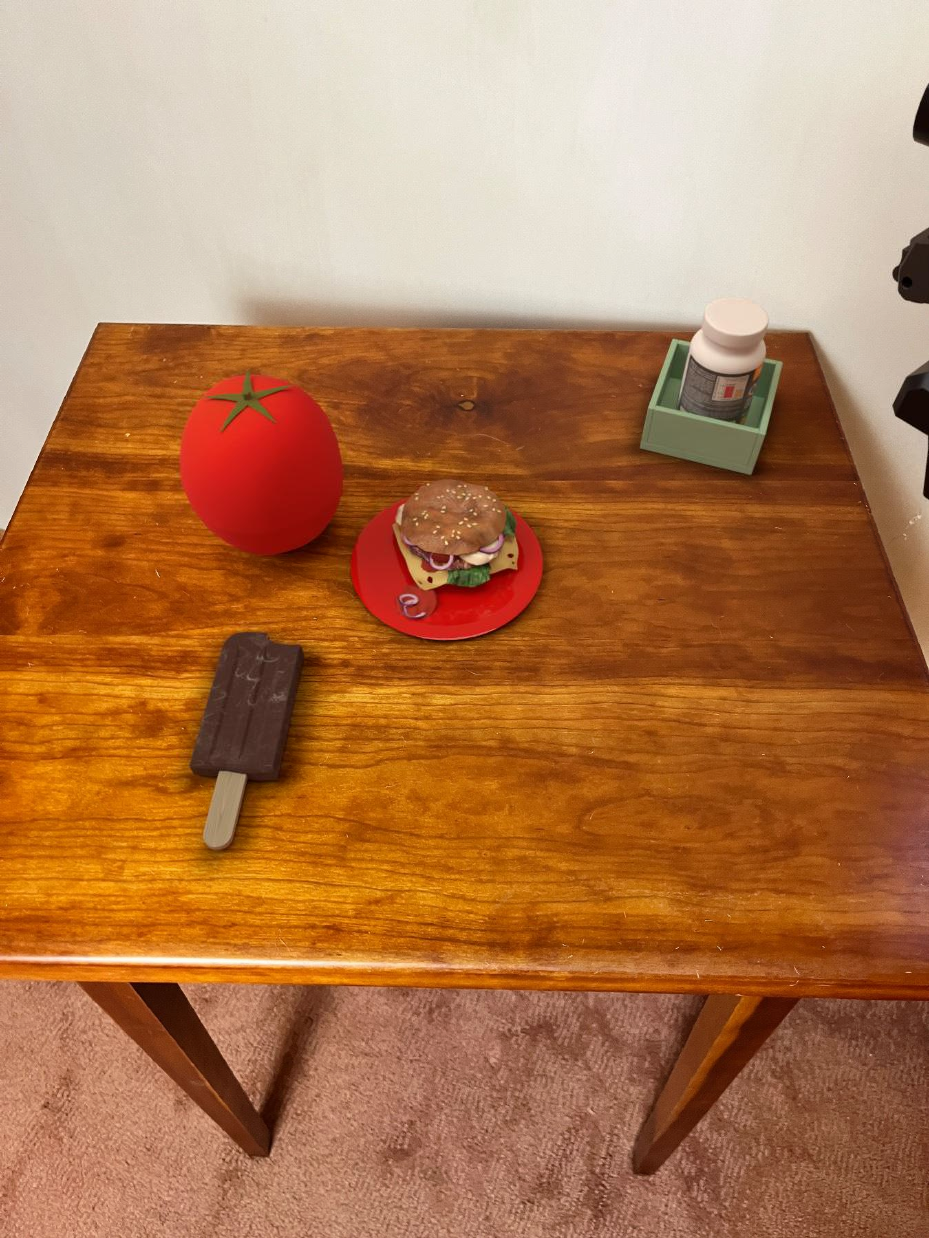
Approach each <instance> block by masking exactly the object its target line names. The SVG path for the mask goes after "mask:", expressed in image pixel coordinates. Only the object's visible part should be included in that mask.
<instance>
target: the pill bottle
mask: <svg viewBox="0 0 929 1238" xmlns="http://www.w3.org/2000/svg"><path fill="white" fill-rule="evenodd" d="M701 319H702V320H701V323H700V326H701V328H700V329H699V330H698V331H697V332H696V333H695V334H694V335H693V337H692V339H691V340H690V342H691V343H690V347H689V351H688V355H687V360H686V364H685V369H684V373H683V378H682V382H681V386H680V390H679V394H678V399H677V404H676V410H678V411H682V412H687V413H691V414H695V415H700V416H704V417H709V418H713V419H717V420H722V421H726V422H730V423H735V424H739V425H744V424H745V421H746V418H747V415H748V412H749V409H750V405H751V402H752V399H753V396H754V392H755V389H756V386H757V383H758V379H759V376H760V373H761V370H762V366H763V363H764V360H765V358H766V356H767V346H766V343H765V341H764V339H765V337H766V333H767V330H768V327H769V322H770V319H769V315H768V312H767V311H766V310H765V309H764V307H762V306H761V305H760V304H758V303H757V302H755V301H753V300H750V299H747V298H744V297H736V296H727V297H722V298H718V299H715V300H713V301H711V302H710V303H709V304H707V306H706V308H705V309H704V312H703V316H702V318H701Z"/></svg>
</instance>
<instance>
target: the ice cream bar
mask: <svg viewBox="0 0 929 1238" xmlns="http://www.w3.org/2000/svg"><path fill="white" fill-rule="evenodd" d="M304 659H305V653H304V650H303V646H302V645H301V644H287V643H278V642H277V643H276V642H273V641H272V640H271V639H270V636H269V634H268V633H267V632H258V631H242V632H241V631H240V632H236V633H233V634H231V635H230V636H229V637H228V638H227V639H226V640H225V641H224V642H223V644H222V648H221V651H220V655H219V658H218V662H217V666H216V670H215V673H214V676H213V680H212V682H211V683H212V684H211V687H210V690H209V694H208V697H207V701H206V705H205V709H204V713H203V715H202V719H201V723H200V726H199V730H198V733H197V737H196V741H195V744H194V748H193V751H192V754H191V759H190V761H189V769H190V770H191V772H192V774H193V775H198V776H204V777H205V776H207V777H217V778H216V783H215V786H214V790H213V794H212V797H211V801H210V805H209V809H208V813H207V817H206V821H205V825H204V829H203V832H202V833H203V834H202V837H203V841H204V843H205V845H206V846H207V847H208V848H209V849H211V850H213V851H221V850H223V849H227V847H229V846H230V844H231V843H232V842H233V840H234V837H235V833H236V830H237V829H236V828H237V825H238V820H239V816H240V812H241V807H242V804H243V799H244V794H245V790H246V787H247V782H248V780H249V781H258V782H263V781H265V782H266V781H278V779H279V774H280V770H281V765H282V760H283V756H284V751H285V746H286V742H287V738H288V733H289V728H290V723H291V719H292V716H293V715H292V714H293V709H294V705H295V701H296V695H297V693H298V692H297V691H298V687H299V681H300V678H301V673H302V668H303V663H304Z"/></svg>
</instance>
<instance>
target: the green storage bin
mask: <svg viewBox="0 0 929 1238" xmlns="http://www.w3.org/2000/svg"><path fill="white" fill-rule="evenodd" d="M690 343H691V341H686V340H681V339H676V338H672V340H671V342H670V345H669V348H668V351H667V354H666V356H665V360H664V362H663V365H662V368H661V370H660V373H659V376H658V378H657V381H656V385H655V387H654V390H653V393H652V396H651V399H650V401H649V405H648V407H647V411H646V416H645V421H644V425H643V430H642V436H641V440H640V444H639V445H640V446H639V449H641V450H643V451H644V450H645V451H648V452H652V453H656V454H657V453H658V454H661V455H665V456H670V457H674V458H677V459H682V460H686V461H690V462H694V463H698V464H703V465H708V466H711V467H714V468H715V467H716V468H719V469H723V470H729V471H732V472H736V473H741V474H745V475H749V476H752V474H753V471H754V469H755V466H756V463H757V460H758V458H759V455H760V452H761V449H762V446H763V443H764V440H765V439H766V438H765V437H766V436H767V430H768V426H769V422H770V418H771V413H772V410H773V405H774V402H775V397H776V393H777V389H778V384H779V381H780V377H781V371H782V368H783V361H780V360H775V359H771V358H766V357H765V360H764V363H763V366H762V370H761V373H760V376H759V379H758V383H757V386H756V389H755V392H754V396H753V399H752V402H751V405H750V409H749V412H748V415H747V418H746V421H745V424H744V425H739V424H735V423H730V422H726V421H722V420H717V419H713V418H709V417H704V416H700V415H695V414H691V413H687V412H682V411H678V410H676V404H677V399H678V394H679V390H680V386H681V382H682V378H683V373H684V369H685V364H686V360H687V355H688V351H689V347H690Z"/></svg>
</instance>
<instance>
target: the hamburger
mask: <svg viewBox="0 0 929 1238" xmlns="http://www.w3.org/2000/svg"><path fill="white" fill-rule="evenodd" d="M543 571H544V559H543V553H542V549H541V545H540V543H539V539H538V538H537V536H536V534H535V532H534V531H533V529H532V528H531V527H530V525H529V524H528V523H527V522H526V520H524V518H523V517H521V516H520V515H519V514H518V513H516V512H515V511H514V510H512V509H511V508H510V507H508V505H505V504H503V502H502V500H501V499H500V497H499V496H498V495H496V493H494V492H493V491H491V490H490V489H489V488H488V486H484V485H479V484H473V483H469V482H464V481H461V480H457V479H452V478H447V479H445V478H444V479H438V480H435V481H431V482H429V483H426V484H423V485H420V486H419V485H418V487H417V488H416V490H415V491H414V493H412V494H411V495H410V496H408V497H406V498H403V499H401V500H398V501H396V502H394V503H392V504H390V505H388V506H387V507H386V508H384V509H382V510H381V511H380V512H378V513H377V514H376V515H375V516H374V517H373V518H371V519H370V521H369V522H368V523H367V524H366V525H365V526H364V527H363V528H362V530H361V532H360V533H359V535H358V537H357V539H356V540H355V543H354V546H353V549H352V552H351V557H350V577H351V581H352V585H353V588H354V590H355V592H356V594H357V596H358V598H359V600H360V601H361V602H362V604H363V605H364V607H365V608H366V609H367V610H368V611H369V613H371V614H372V615H373V616H374V617H376V618H377V619H378V620H379V621H381V622H382V623H384V624H385V625H387V626H389V627H390V628H392V629H394V630H397V631H399V632H401V633H404V634H407V635H410V636H413V637H417V638H421V639H427V640H428V639H429V640H435V641H436V640H437V641H455V640H463V639H468V638H469V639H470V638H473V637H478V636H481V635H485V634H488V633H490V632H492V631H494V630H497V629H498V628H501V627H502V626H505V625H506V624H508V623H510V622H511V621H512V620H514V618H516V617H517V616H519V614H521V613H522V612H523V611H524V610H525V609H526V607H527V606H528V605H529V604H530V602H531V601H532V599H533V598H534V596H535V595H536V594H537V591H538V589H539V586H540V584H541V581H542V576H543Z"/></svg>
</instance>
